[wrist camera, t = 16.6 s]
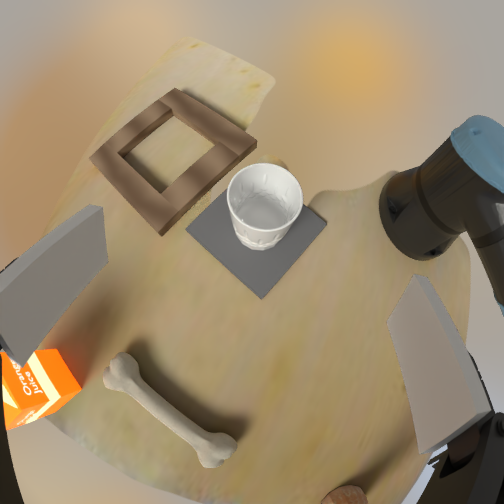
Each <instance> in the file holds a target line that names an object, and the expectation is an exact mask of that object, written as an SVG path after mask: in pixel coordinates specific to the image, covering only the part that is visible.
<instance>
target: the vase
mask: <svg viewBox="0 0 504 504" xmlns="http://www.w3.org/2000/svg"><path fill="white" fill-rule="evenodd" d="M321 504H368V501H367V498H366V496H365V494H364V493H363V491H362V489H361V488H360V487H357V486H353V485H347V486H343V487H339V488H337V489H335V490H334V491H332V492H330V493H329V494H328V495H327V496H326V497H325V498H324V499H323V500H322V501H321Z"/></svg>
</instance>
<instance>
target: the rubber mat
mask: <svg viewBox="0 0 504 504" xmlns="http://www.w3.org/2000/svg"><path fill="white" fill-rule="evenodd" d="M227 190H228V188H227V189H226V190H225V191H224V192H223V193H222V194H221V195H220V196H219V197H217V198H216V199H215V200H214V201H213V202H212V203H211V204H210V205H209V206H208V207H207V208H206V209H205V210H204V211H203V212H202V213H201V214H200V215H199V216H198V217H197V218H196V219H195V220H194V221H193V222H192V223H191V224H190V225H189V226H188V227H187V228H186V231H187V232H188V233H189V234H190V235H191V236H193V237H194V238H195V239H196V240H197V241H198V242H199V243H200V244H201V245H202V246H203V247H204V248H205V249H206V250H208V251H209V252H210V253H211V254H212V255H213V256H214V257H215V258H216V259H217V260H218V261H219V262H221V263H222V264H223V265H224V266H225V267H226V268H227V269H228V270H229V271H230V272H231V273H233V274H234V275H235V276H236V277H237V278H238V279H239V280H240V281H241V282H243V283H244V284H245V285H246V286H247V287H248V288H249V289H250V290H251V291H253V292H254V293H255V294H256V295H257V296H258V297H259V298H260V299H262V298H263V297H264V296H265V295H266V294H267V293H268V292H269V290H270V289H271V288H272V287H273V286H274V285H275V284H276V283H277V281H278V280H279V279H280V278H281V277H282V276H283V275H284V274H285V272H286V271H287V270H288V269H289V268H290V267H291V266H292V264H293V263H294V262H295V261H296V260H297V259H298V257H299V256H300V255H301V254H302V253H303V252H304V250H305V249H306V248H307V247H308V246H309V245H310V243H311V242H312V241H313V240H314V239H315V238H316V236H317V235H318V234H319V233H320V232H321V230H322V229H323V228H324V227H325V226H326V223H325V222H324V221H323V220H322V219H321V218H319V217H318V216H317V215H316V214H315V213H314V212H312V211H311V210H310V209H309V208H308V207H306V206H305V205H304V204H303V206H302V209H301V212H300V214H299V215H298V217H297V218H296V220H295V221H294V223H293V224H292V226H291V227H290V229H289V230H288V232H287V233H286V234H285V235H284V237H283V238H282V239H281V240H280V241H279V242H278V243H277V244H276V245H275V246H274V247H272V248H269V249H266V250H264V251H262V250H252V249H250V248H248V247H247V246H245V245H243V244H242V243H241V241H240V240H239V239H238V237H237V236H236V233H235V229H234V227H233V223H232V220H231V216H230V211H229V207H228V202H227Z"/></svg>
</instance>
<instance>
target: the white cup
mask: <svg viewBox="0 0 504 504" xmlns="http://www.w3.org/2000/svg"><path fill="white" fill-rule="evenodd" d="M227 202H228V207H229V211H230V216H231V220H232V223H233V227H234V229H235V233H236V236H237V237H238V239H239V240H240V241H241V243H242V244H243V245H245V246H247V247H248V248H250V249H252V250H262V251H264V250H266V249H269V248H272V247H274V246H275V245H276V244H277V243H278V242H279V241H280V240H281V239H282V238H283V237H284V235H285V234H286V233H287V232H288V230H289V229H290V227H291V226H292V224H293V223H294V221H295V220H296V218H297V217H298V215H299V214H300V212H301V209H302V206H303V192H302V188H301V186H300V184H299V182H298V181H297V179H296V178H295V177H294V175H292V174H291V173H290V172H289V171H288V170H286V169H285V168H283V167H281V166H278V165H275V164H270V163H257V164H253V165H249V166H247V167H245V168H243V169H241V170H240V171H239V172H238V173H236V174H235V176H234V177H233V178H232V180H231V181H230V183H229V186H228V190H227Z"/></svg>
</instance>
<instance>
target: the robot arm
mask: <svg viewBox="0 0 504 504" xmlns="http://www.w3.org/2000/svg"><path fill="white" fill-rule="evenodd" d="M379 211H380V217H381V221H382V224H383V227H384V229H385V231H386V233H387V235H388V237H389V238H390V240H391V241H392V243H393V244H394V245H395V246H396V247H397V248H398V249H399V250H400V251H401V252H402V253H404V254H405V255H407V256H408V257H410V258H413V259H416V260H421V261H424V260H430V259H433V258H435V257H437V256H440V255H441V254H443V253H444V252H445V251H446V250H447V249H448V248H449V247H450V245H451V244H452V243H453V242H454V241H455V240H456V238H457V237H458V236H459V235H460V234H461V233H463V232H465V231H467V233H468V234H469V236H470V238H471V240H472V242H473V244H474V246H475V249H476V251H477V253H478V255H479V257H480V259H481V261H482V264H483V266H484V268H485V271H486V273H487V275H488V278H489V280H490V283H491V285H492V288H493V292H494V297H495V299H496V301H497V303H498V305H499V306H500V309H501V311H502V314H503V316H504V127H503V126H502V125H500V124H499V123H497V122H496V121H494V120H493V119H491V118H489V117H486V116H481V115H476V116H472V117H470V118H469V119H467V120H466V121H465V122H464V123H463V124H462V125H461V126H460V127H458V128H456V129H454V130H453V131H452V133H451V136H450V137H449V138H448V139H447V140H446V141H445V142H444V143H443V144H442V145H441V146H440V147H439V148H438V149H437V150H436V151H435V152H434V153H433V154H432V155H431V156H430V157H429V158H428V159H427V160H426V161H425V162H424V163H423V164H422V165H420V166H418V167H415V168H412V169H409V170H406V171H403V172H400V173H398V174H396V175H395V176H393V177H392V178H391V179H390V180H389V181H388V182H387V183H386V185H385V186H384V187H383V189H382V192H381V195H380V199H379ZM107 263H108V255H107V247H106V238H105V227H104V215H103V207H100V206H95V205H90V204H89V205H88V206H86V207H85V208H83V209H82V210H81V211H79V212H78V213H76V214H75V215H73V216H72V217H70V218H69V219H68V220H66V221H65V222H63V223H62V224H61V225H59V226H58V227H56V228H55V229H54V230H52V231H51V232H50V233H48V234H47V235H46V236H45V237H43V238H42V239H41V240H39V241H38V242H37V243H36V244H35V245H33V246H32V247H31V248H29V249H28V250H27V251H26V252H25V253H23V254H22V255H21V256H20V257H18V258H16V259H15V260H13V261H12V262H11V263H10V264H9V265H7V266H6V267H5V270H4V269H3V270H2V271H1V272H0V350H1V349H2V348H3V350H4V351H5V353H6V354H7V356H8V357H9V359H10V360H12V361H13V362H14V363H16V364H17V365H19V366H20V367H21V368H23V367H24V366H25V364H26V363H27V361H28V360H29V358H30V357H31V355H32V354H33V353H34V351H35V350H36V348H37V347H38V346H39V344H40V343H41V342H42V340H43V339H44V338H45V336H46V335H47V334H48V332H49V331H50V330H51V328H52V327H53V326H54V325H55V323H56V322H57V321H58V319H59V318H60V317H61V316H62V315H63V313H64V312H65V311H66V310H67V308H68V307H69V306H70V305H71V304H72V302H73V301H74V300H75V299H76V298H77V296H78V295H79V294H80V293H81V292H82V291H83V289H84V288H85V287H86V286H87V285H88V284H89V283H90V281H91V280H92V279H93V278H94V277H95V276H96V275H97V274H98V273H99V271H100V270H101V269H102V268H103V267H104V266H105V265H106V264H107ZM387 325H388V328H389V331H390V335H391V338H392V341H393V344H394V347H395V351H396V354H397V358H398V361H399V365H400V368H401V372H402V375H403V379H404V383H405V387H406V391H407V395H408V399H409V404H410V408H411V413H412V417H413V422H414V427H415V432H416V438H417V444H418V450H419V455H420V454H425V453H430V452H434V451H436V450H438V449H439V448H441V447H443V446H444V445H446V444H447V447H448V449H447V450H446V451H444V452H442V453H441V454H439V455H437V456H435V457H434V458H433V459H430V461H429V462H428V463H427V464H428V465H430V464H432V463H433V462H435V461H437V460H439V462H437V463H436V464H434V465H433V466H432V467H433V468H435V470H434V472H433V474H432V476H431V478H430V480H429V482H428V484H427V486H426V488H425V490H424V492H423V493H422V495H421V497H420V499H419V500H418V502H417V504H504V413H501V412H499V413H496V414H495V411H494V409H493V406H492V403H491V401H490V398H489V395H488V392H487V390H486V387H485V385H484V382H483V380H481V378H482V377H481V375H480V372H479V371H478V368H477V365H476V363H475V361H474V359H473V357H472V356H471V355H470V353H469V352H468V351H467V349H466V347H465V345H464V342H463V340H462V338H461V336H460V334H459V332H458V330H457V329H456V327H455V325H454V323H453V321H452V319H451V317H450V315H449V313H448V312H447V310H446V308H445V306H444V305H443V303H442V301H441V299H440V298H439V296H438V294H437V293H436V291H435V289H434V288H433V286H432V284H431V283H430V281H429V279H428V278H427V277H424V276H420V275H416V274H414V275H413V277H412V278H411V280H410V282H409V284H408V286H407V288H406V290H405V291H404V293H403V295H402V297H401V298H400V300H399V302H398V304H397V305H396V307H395V309H394V310H393V312H392V314H391V315H390V317H389V318H388V320H387ZM0 504H24V502H23V499H22V496H21V493H20V489H19V486H18V483H17V479H16V476H15V472H14V468H13V463H12V459H11V455H10V449H9V444H8V439H7V432H6V424H5V415H4V405H3V388H2V356H1V354H0Z"/></svg>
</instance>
